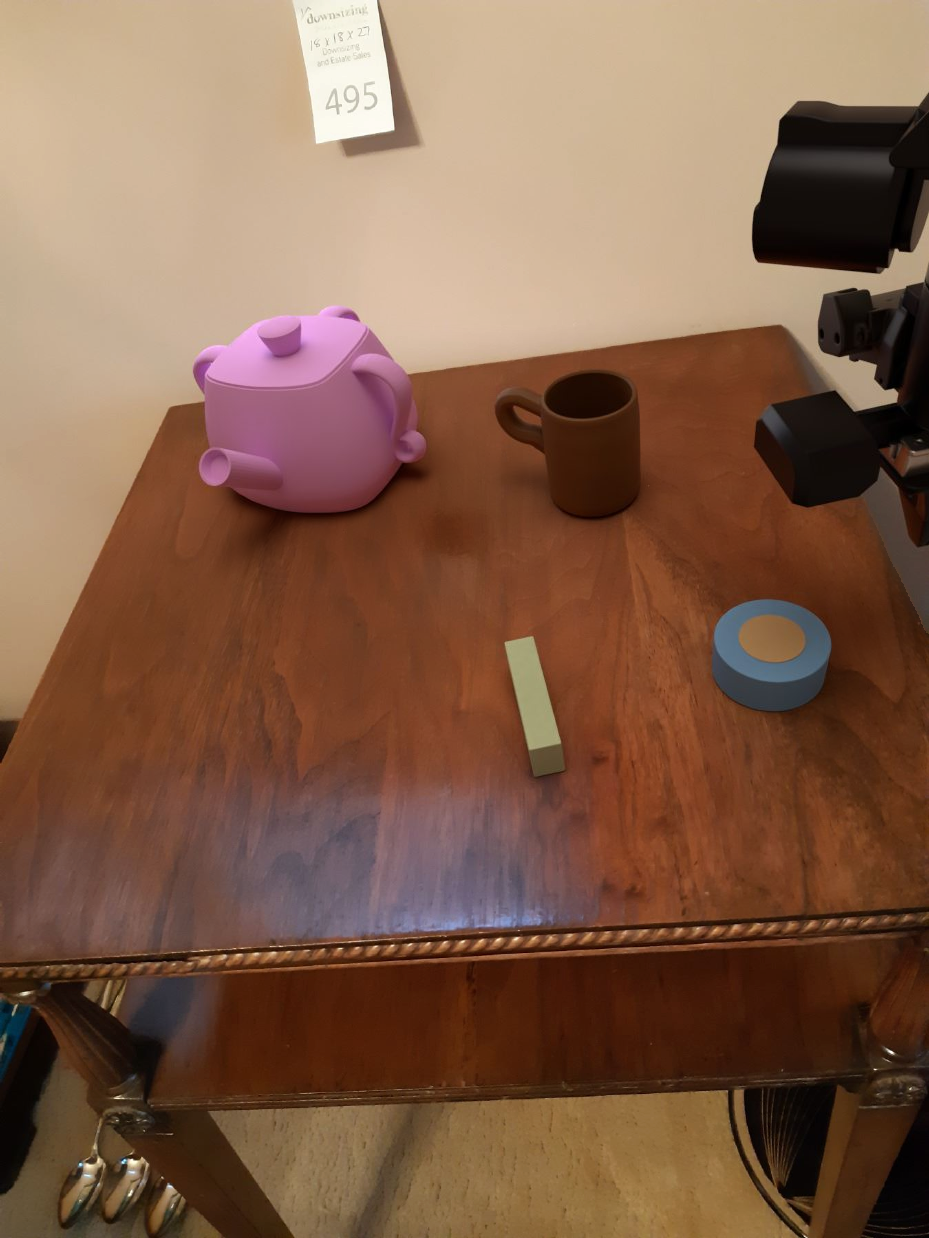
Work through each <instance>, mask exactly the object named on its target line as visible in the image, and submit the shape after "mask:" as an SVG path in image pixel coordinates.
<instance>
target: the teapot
mask: <svg viewBox="0 0 929 1238" xmlns="http://www.w3.org/2000/svg"><path fill="white" fill-rule="evenodd" d="M192 375H193V378H194V380H195V383H196V385H197V386H198V388H199V390H200V391H201V392H202V394H203V395H204V418H205V419H204V420H205V431H206V436H207V441H208V444H209V445H208V446H209V448H208V449H206V450H205V451H204V452H203V453H202V455H201V457H200V459H199V463H198V472H199V475H200V477H201V479H202V480H203V482H204V483H206V485H208V486H213V487H222V488H231V489H232V490H233V491H235V492H236V493H237V494H239V495H241V496H243V497H245V498H246V499H248V500H250V501H252V502H254V503H257V504H260V505H263V506H265V507H269V508H272V509H276V510H279V511H286V512H291V513H292V512H294V513H308V514H324V513H325V514H326V513H327V514H328V513H329V514H330V513H342V512H348V511H349V512H350V511H353V510H357V509H359V508H360V509H361V508H362V507H364V506H366V505H369V503H371V502H372V501H374V500H375V499H376V497H378V495H380V493H382V491H383V490H384V488H386V486H387V485H388V484H389V483H390V481H391V480H392V479H393V477H394V476H395V475H396V473H398V470H399V469H400V467H401V466H402V464H403V463H404V464H411V463H412V464H413V463H417V462H418V461H420V460H421V459H422V458H423V457H424V456H425V454H426V451H427V445H428V444H427V441H426V439H425V437H424V436H423V435H422V434H421V433H420V432H418V431H417V428H418V425H419V413H418V410H417V406H416V403H415V400H414V399H415V398H414V397H413V387H412V383H411V379H410V377H409V375H408V374H407V372H406V371H405V369H404V368H403V367H402V366H401V365H400V364H398V363H397V362H396V361H395V359H394V358H393V357H392V355H391V354H390V353H389V351H388V349H386V347H385V346H384V344H383V343H382V341H381V340H380V339H379V337H378V336H377V335H376V334H375V332H373V331H372V329H371V328H370V327H369V326H368V325H367V324H365V323H362V322H361V319H360V317H359V316H358V314H357V313H356V312H355V311H354V310H353V309H352V308H350V307H348V306H343V305H329V306H326V307H325V308H322V310H320V312H319V313H318V314H317V315H291V314H286V315H285V314H284V315H278V316H274V317H272V318H267V319H263V320H260V321H258V322H256V323H254V324H253V325H251V326H250V327H249V328H247V329H246V330H244V331H243V332H242V333H241V334H239V336H238V337H236V338H235V339H234V340H233V341H232V342H231V343H229V345H228V346H226V345H223V344H222V345H220V344H216V345H211V346H208V347H207V348H205V349H204V350H202V351H201V352H200V353H199V354H197V356H196V357H195V360H194V361H193V364H192Z"/></svg>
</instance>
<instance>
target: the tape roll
mask: <svg viewBox="0 0 929 1238" xmlns="http://www.w3.org/2000/svg"><path fill="white" fill-rule="evenodd" d="M831 651H832V639H831V635H830V632H829V630H828V628H827V627H826V625H825V623H823V621H822V620H821V619H820V618H819V617H818V616H817V615H815V614H814V613H813V612H812V611H810V610H809V609H807V608H806V607H805V608H804V607H803V606H801V605H799V604H796V603H793V602H789V601H785V600H780V599H770V598H769V599H768V598H767V599H765V598H763V599H755V600H750V601H745V602H743V603H740V604H738V605H736V606H734V607H732V608H731V609H729V610H727V611H726V612H725V613H724V614H723V615H722V616H721V617H720V619H719V620H718V621H717V623H716V625H715V628H714V632H713V643H712V655H711V658H712V659H711V671H712V676H713V678H714V680H715V682H716V684H717V686H718V687H719V688H720V690H721V691H722V692H723V693H724V694H725V695H726V696H727V697H729V698H730V699H732V700H733V701H734V702H736V703H738V704H740V705H742V706H744V707H748V708H750V709H754V710H758V711H762V712H763V711H764V712H784V711H790V710H794V709H797V708H800V707H801V706H804V705H805V704H808V703H809V702H811V700H813V699H814V698H815V697H816V696H817V695H818V694H819V692H821V690H822V687H823V686H824V683H825V680H826V679H825V678H826V674H827V669H828V666H829V661H830V657H831V656H830V655H831Z"/></svg>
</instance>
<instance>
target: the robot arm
mask: <svg viewBox="0 0 929 1238" xmlns="http://www.w3.org/2000/svg"><path fill="white" fill-rule="evenodd" d="M777 129H778V130H777V141H776V146H775V148H774V150H773V153H772V155H771V157H770V160H769V163H768V166H767V170H766V172H765V176H764V180H763V184H762V188H761V192H760V197H759V201H758V202H757V204H756V205H755V207H754V209H753V213H752V223H751V247H752V253H753V257H754V259H755V261H756V262H757V263H758V264H766V265H767V264H768V265H778V266H779V265H780V266H789V267H798V268H799V267H800V268H812V269H819V270H820V269H821V270H830V271H831V270H832V271H843V272H854V273H864V274H875V275H881V274H882V273H883V272H884V271H885V269H889V268H890V267H891V265H892V260H893V257H894V255H895V252H896V250H897V251H898V252H899V253H909V254H912V253H914V251H915V250H916V248H917V246H918V244H919V242H920V240H921V237H922V235H923V232H924V229H925V226H926V224H927V219H928V217H929V91H928V92H927V94H926V95H925V96H924V98H923V99H922V101H921V102H920V104H918V105H841V104H836V103H832V102H830V101H825V100H797V101H796V102H794V104H793V105H792V106H791V107H790V108H789V109H788V110H787V111H786V113H784V115H782V117H781V118H780V119H779V121H778V128H777ZM821 299H822V300H821V303H820V309H819V314H818V318H817V319H818V320H817V343H818V344H817V345H818V347H819V349H820V351H821V352H822V353H824V354H827V355H830V356H833V357H835V358H843V357H848V361H850V362H853V363H856V362H859V361H862V362H865V363H869V364H872V365H875V366H876V367H875V371H874V377H873V381H875V382H876V383H877V384H878V385H879V386H880V388H881V389H883V390H884V391H890V390H894V391H896V392H897V397H896V402H891V403H887V404H883V405H878V406H873V407H869V408H864V409H860V410H853V408H852V407H851V406H850V404H848V402H846V401H845V400H844V399H845V398H843V397H842V396H841V395H840V393H839V392H838V391H837V390H836V389H834V390H829V391H825V392H824V391H823V392H821V393H816V394H811V395H807V396H804V397H803V396H802V397H797V398H793V399H789V400H784V401H780V402H776V403H771V404H769V405H768V406H767V407H765V408H764V409H763V410H762V411H761V412H760V414H759V416H758V418H757V419H756V421H755V429H754V440H753V441H754V442H753V448H754V449H755V451H756V453H757V454H758V456H759V457H760V458H761V460H762V462H763V463H764V464H765V466H766V467H767V469H768V470H769V472H770V473H771V475H772V476H773V478H774V479H775V481H776V482H777V483H778V485H779V486H780V488H781V490H782V491H783V493H784V494H785V495H786V497H787V498H788V500H789V502H790V503H791V504H793V505H797V506H798V507H799V506H800V507H803V508H807V509H809V508H815V507H817V506H818V507H819V506H823V505H827V504H831V503H836V502H841V501H845V500H850V499H854V498H859V497H860V496H862V495H863V494H864V493H865V492H866V491H867V490H868V489H870V488H871V487H872V486H873V485H874V484H876V482H878V479H879V476H880V472H881V469H882V470H883V472H884V473H885V474H886V475H887V476H888V478H889V479H890V480H891V482H893V484H894V485H895V486H896V487H897V489H898V494H899V500H900V503H901V507H902V513H903V516H904V517H903V518H904V521H905V526H906V530H907V531H906V532H907V535H908V538H909V540H910V541H911V542H912V543H913V544H914V546H915V547H916V548H923V547H928V546H929V262H928V264H927V268H926V272H925V277H924V280H923V281H922V282H916V283H913V284H908V285H906V286H905V287H904V288H900V289H895V290H891V291H885V292H881V293H877V294H872V295H871V291H870V290H869V289H868V288H867V289H866V288H862V289H858V288H856V287H849V288H845V289H839V290H836V291H830V292H827V293H823V295H822V298H821Z"/></svg>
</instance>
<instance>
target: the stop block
mask: <svg viewBox="0 0 929 1238" xmlns="http://www.w3.org/2000/svg"><path fill="white" fill-rule="evenodd" d="M504 649H505V653H506V659H507V665H508V668H509V673H510V677H511V678H510V679H511V682H512V686H513V690H514V696H515V700H516V704H517V708H518V713H519V717H520V721H521V727H522V730H523V735H524V740H525V744H526V748H527V752H528V756H529V761H530V766H531V770H532V775H533V778H537V777H541V776H546V775H550V774H555V773H560V772H565V771H566V766H565V759H564V752H563V744H562V740H561V736H560V732H559V729H558V723H557V721H556V717H555V714H554V709H553V706H552V703H551V698H550V694H549V691H548V687H547V683H546V679H545V676H544V672H543V668H542V664H541V660H540V657H539V652H538V649H537V646H536V641H535V638H534V636H532V635H531V636H526V637H521V638H517V639H513V640H508V641H505V642H504Z"/></svg>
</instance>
